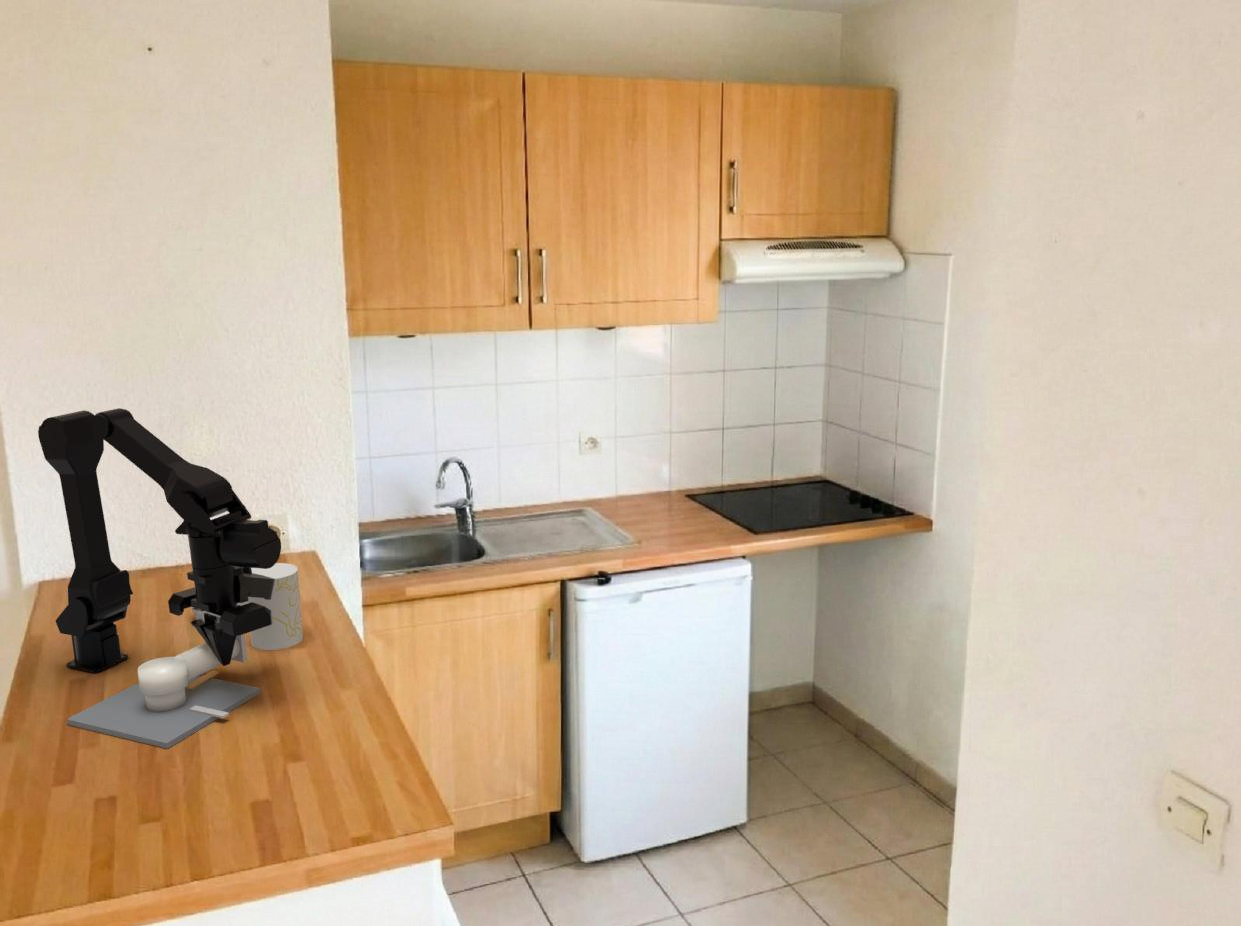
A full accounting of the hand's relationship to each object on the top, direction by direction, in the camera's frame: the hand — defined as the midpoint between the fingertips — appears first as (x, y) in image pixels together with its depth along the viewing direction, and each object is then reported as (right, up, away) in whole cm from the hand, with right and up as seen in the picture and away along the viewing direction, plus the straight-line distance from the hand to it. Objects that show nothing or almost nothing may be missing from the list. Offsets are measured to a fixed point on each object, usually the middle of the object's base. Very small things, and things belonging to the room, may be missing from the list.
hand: (226, 664), depth 159 cm
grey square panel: (-5, -5, -5) cm, 9 cm away
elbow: (-4, -2, -1) cm, 5 cm away
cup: (+2, 0, +19) cm, 19 cm away
